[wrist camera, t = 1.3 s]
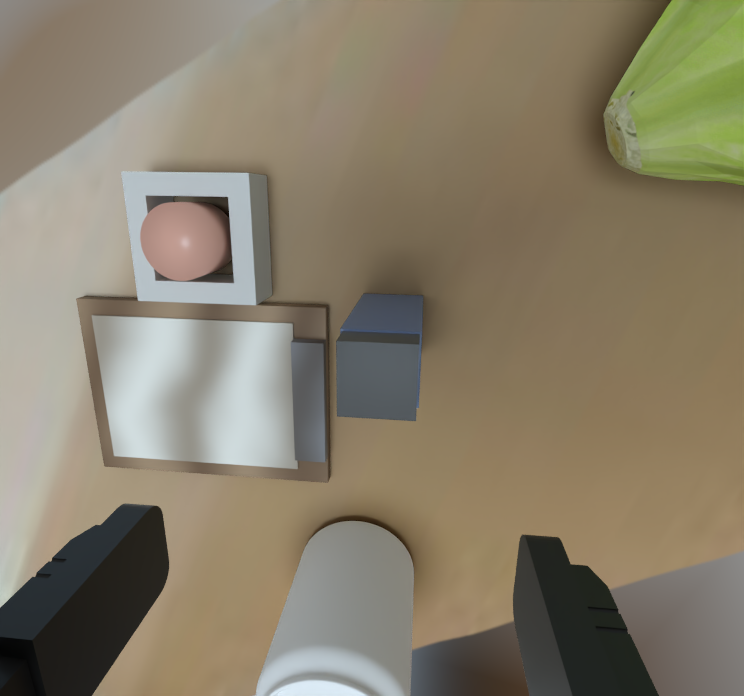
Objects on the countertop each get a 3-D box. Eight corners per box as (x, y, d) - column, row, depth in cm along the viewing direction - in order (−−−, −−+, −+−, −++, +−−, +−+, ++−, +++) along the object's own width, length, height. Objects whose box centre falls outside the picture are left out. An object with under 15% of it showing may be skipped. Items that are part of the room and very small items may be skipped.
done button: (233, 202, 27) (211, 202, 24) (238, 273, 28) (217, 282, 26) (165, 201, 28) (135, 201, 25) (173, 271, 29) (145, 279, 26)
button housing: (266, 175, 28) (248, 172, 25) (272, 295, 30) (256, 305, 27) (151, 174, 29) (121, 171, 26) (164, 291, 31) (138, 300, 28)
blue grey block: (423, 295, 29) (422, 342, 20) (420, 352, 30) (418, 423, 21) (363, 293, 29) (334, 338, 20) (363, 350, 31) (334, 418, 21)
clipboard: (328, 305, 30) (322, 310, 28) (330, 476, 33) (325, 489, 32) (84, 296, 31) (67, 301, 30) (111, 460, 35) (97, 472, 33)
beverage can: (319, 500, 34) (265, 651, 23) (429, 535, 34) (430, 705, 23) (292, 587, 37) (232, 763, 25) (395, 620, 37) (381, 811, 25)
